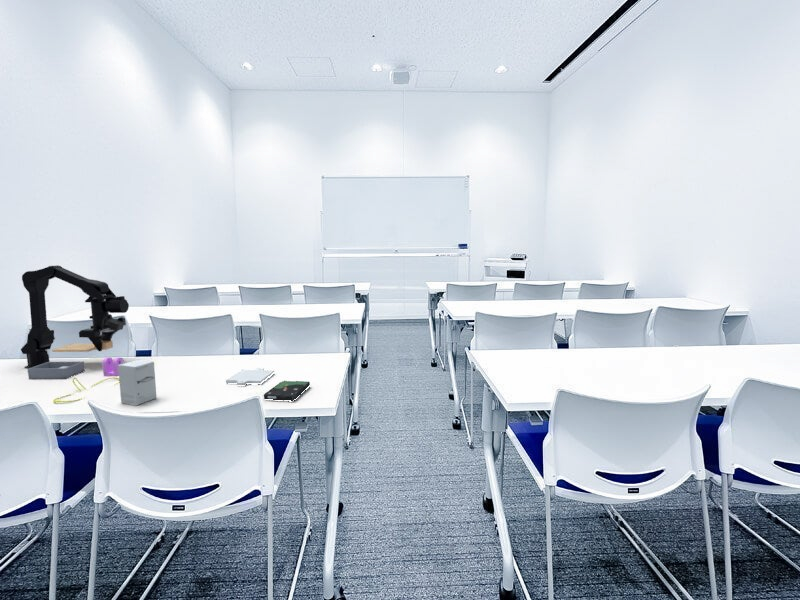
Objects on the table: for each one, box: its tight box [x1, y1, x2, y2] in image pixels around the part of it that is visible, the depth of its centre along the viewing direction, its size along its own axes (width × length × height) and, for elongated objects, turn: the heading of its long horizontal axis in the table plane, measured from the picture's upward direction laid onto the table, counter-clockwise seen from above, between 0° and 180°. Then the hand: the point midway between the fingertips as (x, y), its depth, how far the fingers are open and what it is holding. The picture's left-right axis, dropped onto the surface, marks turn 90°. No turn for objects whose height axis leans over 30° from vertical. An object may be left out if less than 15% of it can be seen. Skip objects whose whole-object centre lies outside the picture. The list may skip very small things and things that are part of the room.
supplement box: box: [118, 359, 157, 407], centre depth 140 cm, size 7×7×13 cm
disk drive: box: [263, 380, 311, 401], centre depth 147 cm, size 10×3×15 cm
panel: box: [27, 361, 86, 380], centre depth 168 cm, size 14×10×4 cm
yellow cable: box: [53, 376, 120, 403], centre depth 151 cm, size 25×10×5 cm, turn 173°
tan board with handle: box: [51, 340, 114, 353], centre depth 180 cm, size 20×11×3 cm, turn 90°
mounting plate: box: [225, 367, 275, 386], centre depth 163 cm, size 18×13×2 cm
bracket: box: [102, 357, 124, 377], centre depth 173 cm, size 13×6×7 cm, turn 176°
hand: (103, 349), depth 181 cm, fingers closed on tan board with handle, 4 cm apart
